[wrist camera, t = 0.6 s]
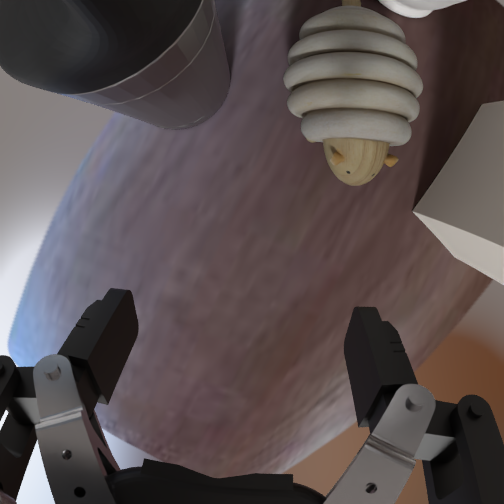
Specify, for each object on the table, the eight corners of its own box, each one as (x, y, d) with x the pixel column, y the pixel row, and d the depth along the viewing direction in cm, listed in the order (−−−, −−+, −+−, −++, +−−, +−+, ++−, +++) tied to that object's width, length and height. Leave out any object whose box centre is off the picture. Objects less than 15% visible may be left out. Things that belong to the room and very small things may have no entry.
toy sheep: (283, 183, 28) (303, 196, 18) (269, 13, 24) (279, -52, 13) (391, 180, 28) (457, 193, 18) (374, 19, 24) (424, -30, 13)
